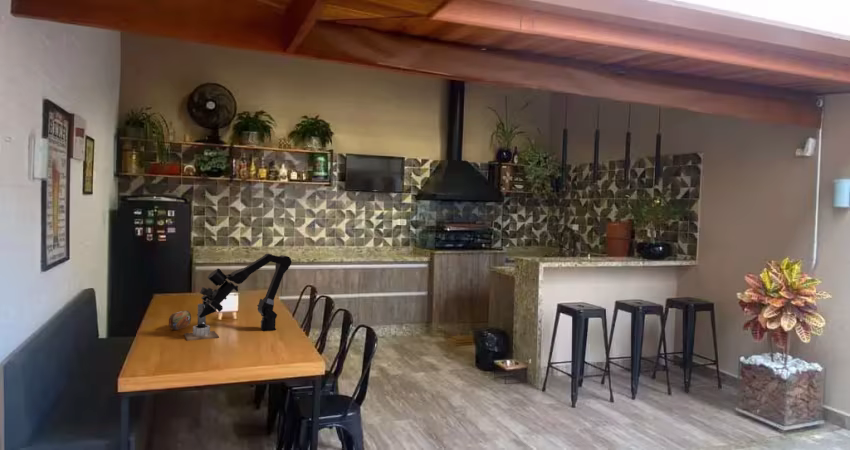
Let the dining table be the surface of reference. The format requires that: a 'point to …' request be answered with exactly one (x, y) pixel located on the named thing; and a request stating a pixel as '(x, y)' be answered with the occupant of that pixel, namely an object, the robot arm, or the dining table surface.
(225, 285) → the robot arm
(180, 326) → the tin
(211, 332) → the bracket plate
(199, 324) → the rail post
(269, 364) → the dining table surface
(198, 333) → the ring
